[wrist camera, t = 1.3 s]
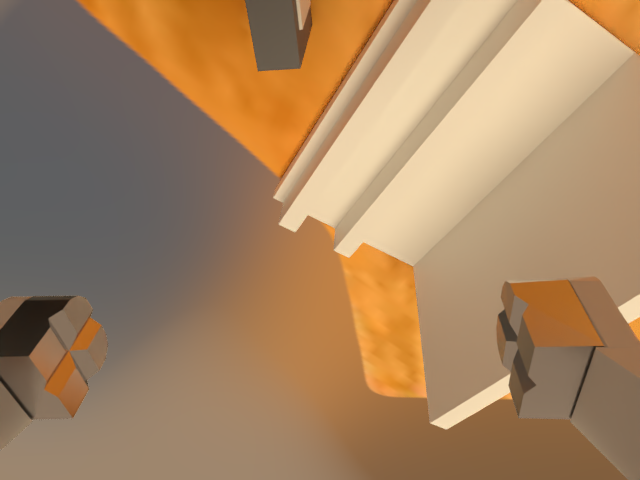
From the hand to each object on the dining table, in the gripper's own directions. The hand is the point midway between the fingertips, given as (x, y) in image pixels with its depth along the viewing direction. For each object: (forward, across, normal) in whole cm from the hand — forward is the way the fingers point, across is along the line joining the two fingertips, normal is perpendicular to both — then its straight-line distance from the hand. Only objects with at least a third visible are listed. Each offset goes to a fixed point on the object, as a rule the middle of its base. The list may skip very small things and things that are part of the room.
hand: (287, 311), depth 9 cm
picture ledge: (+30, -6, +9) cm, 32 cm away
